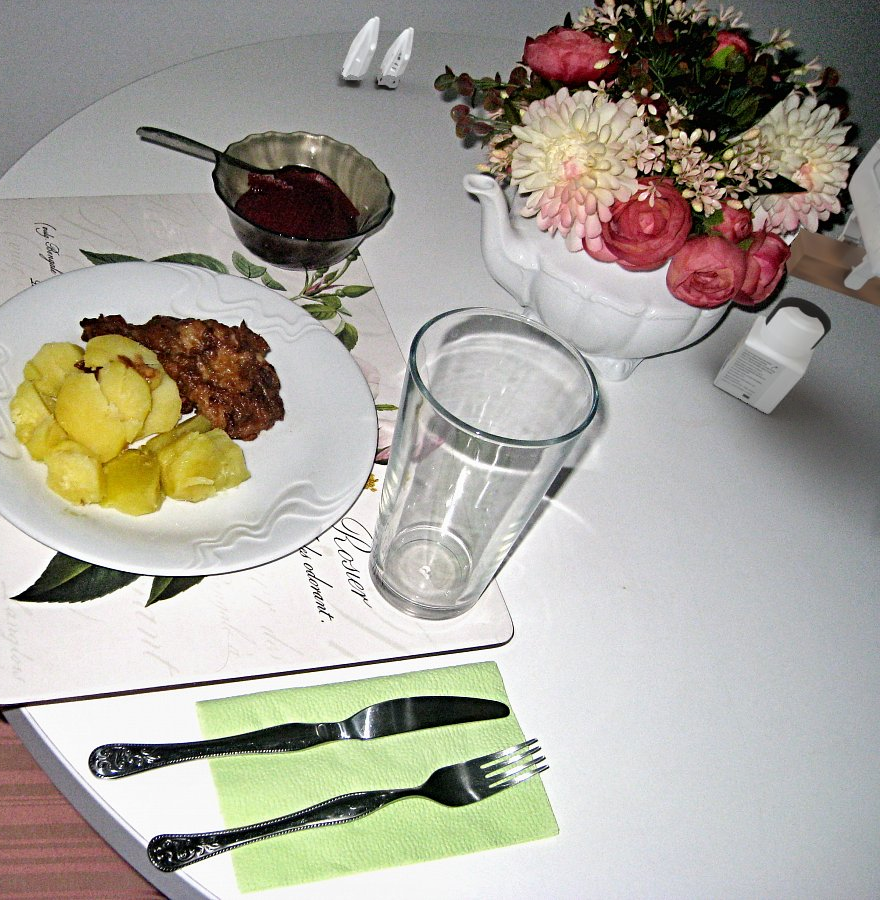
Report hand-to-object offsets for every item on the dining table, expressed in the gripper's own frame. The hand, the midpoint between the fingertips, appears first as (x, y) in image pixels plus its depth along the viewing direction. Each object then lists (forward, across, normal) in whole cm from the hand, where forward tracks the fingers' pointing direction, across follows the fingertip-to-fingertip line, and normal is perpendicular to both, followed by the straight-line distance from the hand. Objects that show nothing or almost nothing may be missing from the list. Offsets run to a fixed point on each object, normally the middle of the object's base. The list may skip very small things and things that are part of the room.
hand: (845, 266), depth 103 cm
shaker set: (+20, +47, +64) cm, 82 cm away
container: (+20, 0, 0) cm, 20 cm away
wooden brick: (+2, 0, 0) cm, 2 cm away
